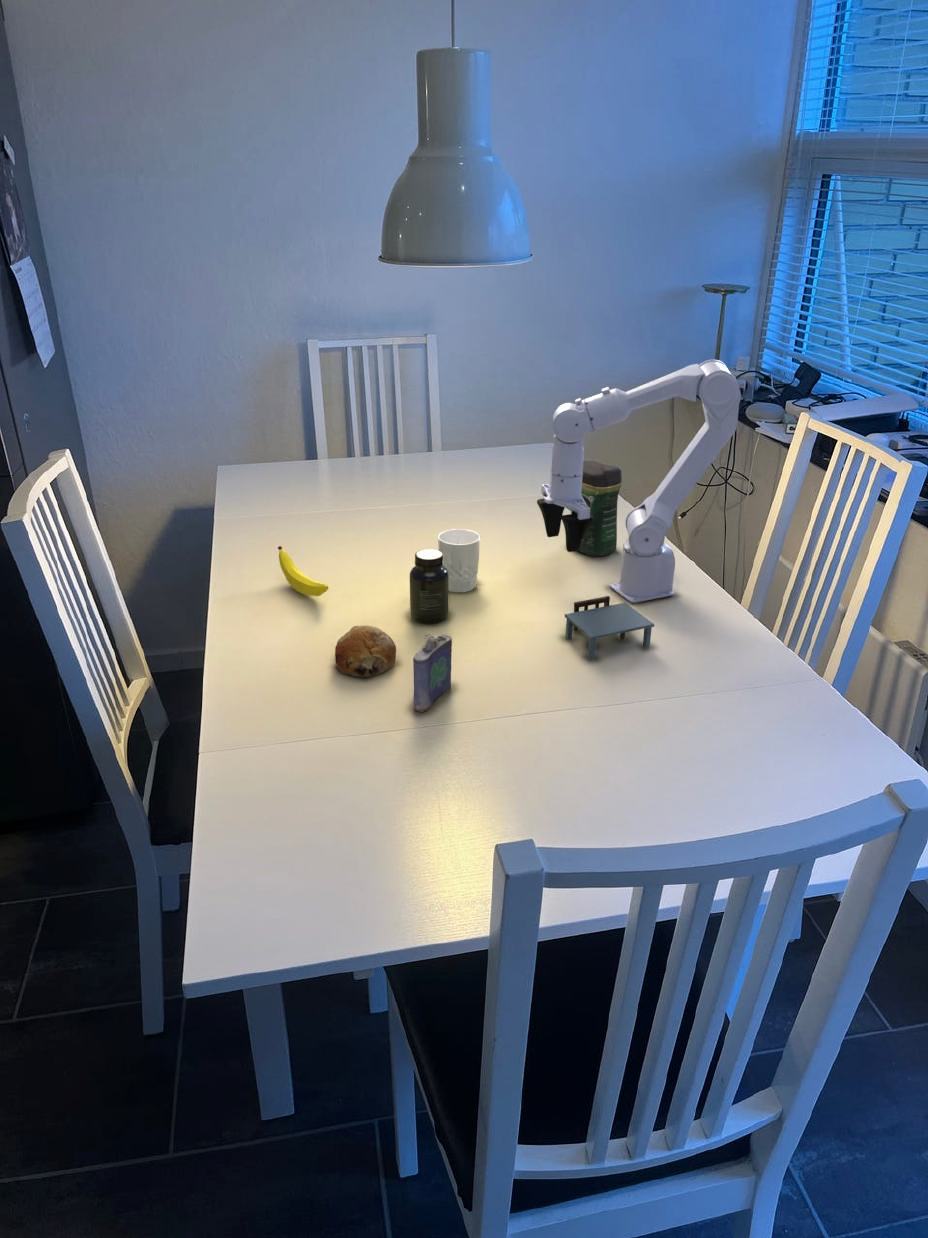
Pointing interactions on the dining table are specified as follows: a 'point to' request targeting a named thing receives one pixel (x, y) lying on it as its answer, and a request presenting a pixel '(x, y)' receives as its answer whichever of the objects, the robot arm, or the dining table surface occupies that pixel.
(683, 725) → the dining table surface
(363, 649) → the bread roll
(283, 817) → the dining table surface
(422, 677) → the flask
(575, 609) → the chair
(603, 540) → the coffee jar
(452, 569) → the white cup
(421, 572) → the supplement bottle
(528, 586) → the dining table surface
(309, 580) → the banana
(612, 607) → the table
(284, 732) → the dining table surface
